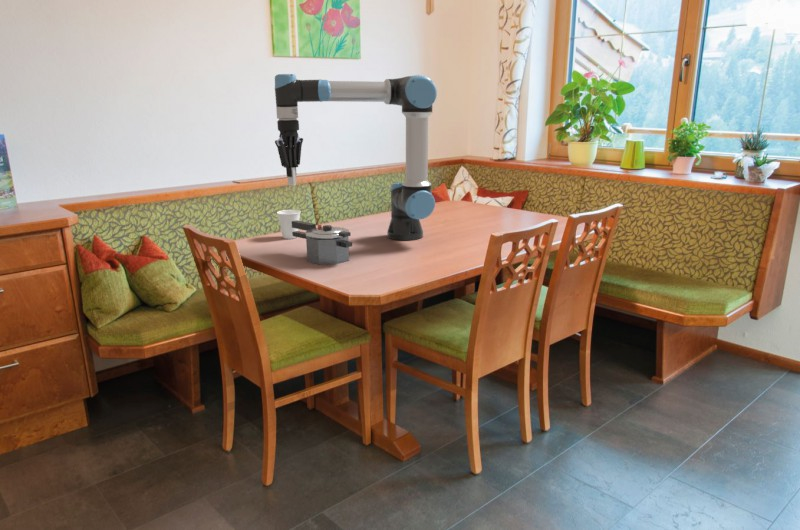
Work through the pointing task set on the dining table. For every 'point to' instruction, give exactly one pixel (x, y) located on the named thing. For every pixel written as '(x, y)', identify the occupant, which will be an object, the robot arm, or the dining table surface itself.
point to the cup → (288, 222)
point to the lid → (321, 230)
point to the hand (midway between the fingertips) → (292, 185)
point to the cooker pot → (326, 249)
